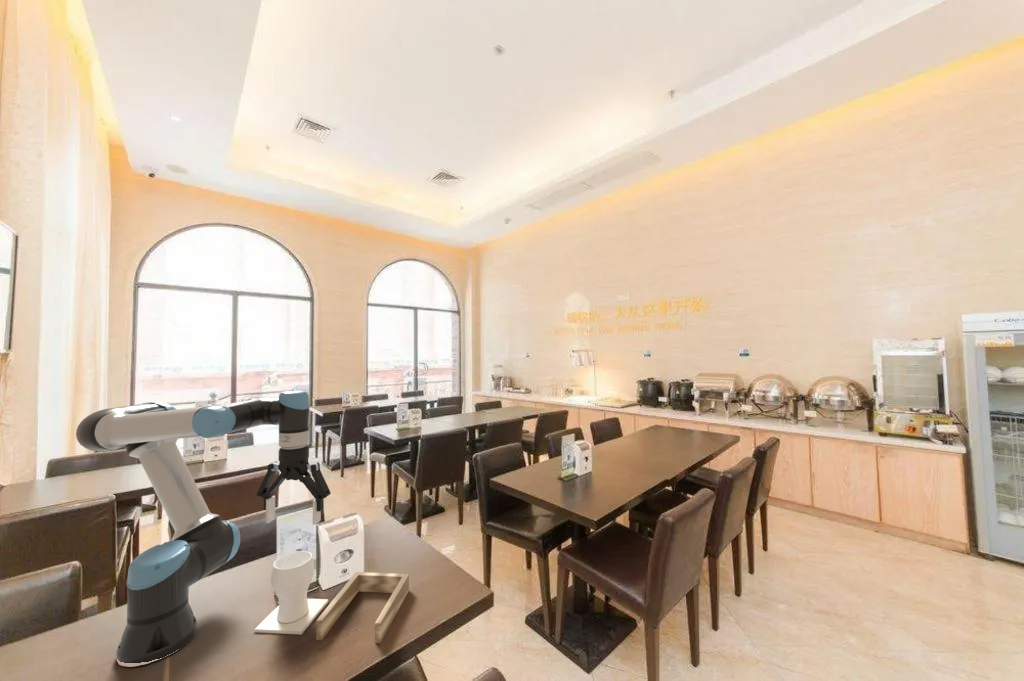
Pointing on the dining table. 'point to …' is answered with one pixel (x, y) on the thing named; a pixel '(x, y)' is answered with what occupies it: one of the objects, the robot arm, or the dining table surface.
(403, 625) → the dining table surface
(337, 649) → the dining table surface
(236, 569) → the dining table surface
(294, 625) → the tile
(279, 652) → the dining table surface
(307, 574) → the cup
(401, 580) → the frame
